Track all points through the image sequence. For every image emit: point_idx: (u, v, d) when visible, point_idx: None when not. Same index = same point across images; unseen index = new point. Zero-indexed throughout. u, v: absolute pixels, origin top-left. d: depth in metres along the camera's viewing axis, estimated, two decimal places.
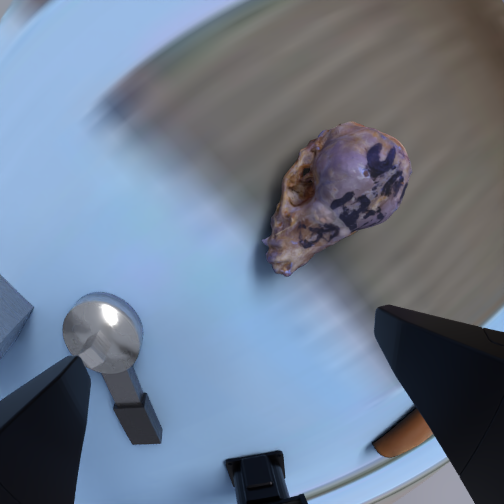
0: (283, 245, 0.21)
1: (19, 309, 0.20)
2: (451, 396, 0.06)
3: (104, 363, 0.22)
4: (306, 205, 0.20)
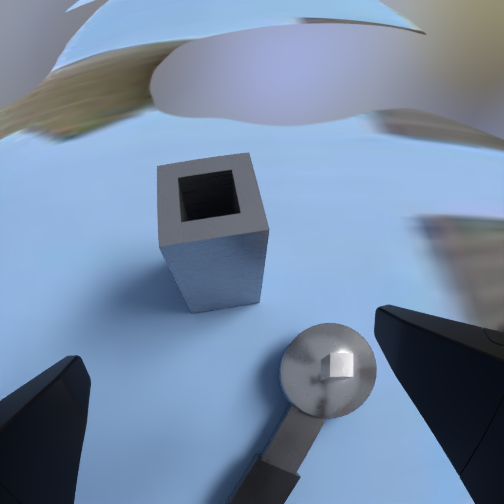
0: None
1: None
2: (451, 396, 0.06)
3: (312, 397, 0.18)
4: None
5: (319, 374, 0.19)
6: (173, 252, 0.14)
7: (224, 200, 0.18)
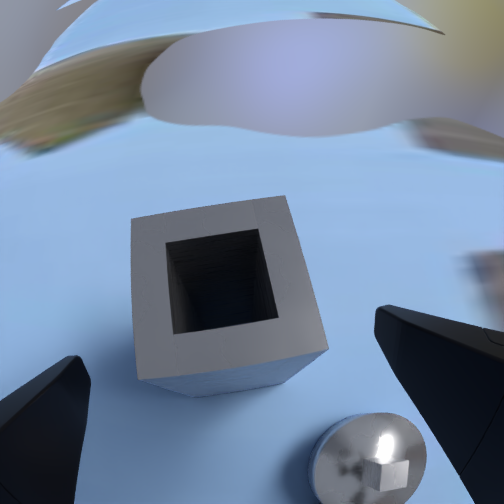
0: None
1: None
2: (451, 396, 0.06)
3: (350, 501, 0.12)
4: None
5: (361, 476, 0.12)
6: (163, 380, 0.08)
7: (242, 267, 0.12)
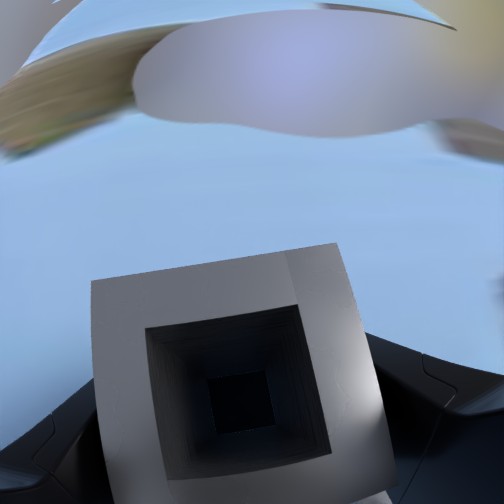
0: None
1: None
2: None
3: None
4: None
5: None
6: None
7: (262, 339, 0.08)
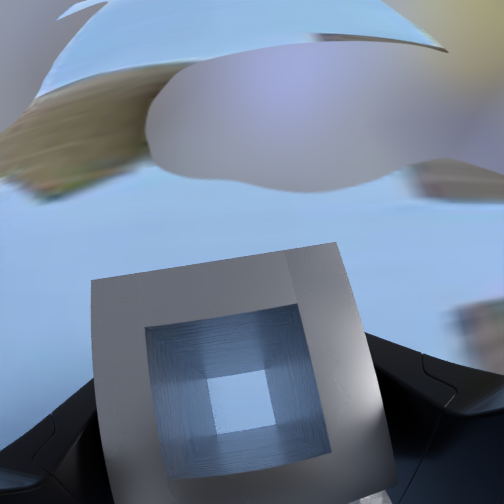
0: None
1: None
2: None
3: None
4: None
5: None
6: None
7: (262, 338, 0.08)
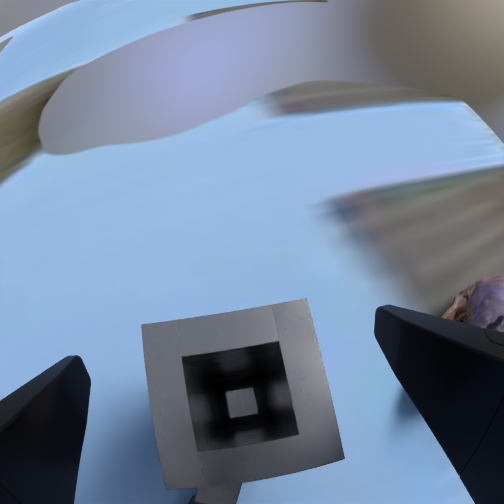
0: None
1: None
2: (451, 396, 0.06)
3: None
4: None
5: None
6: None
7: (258, 357, 0.11)
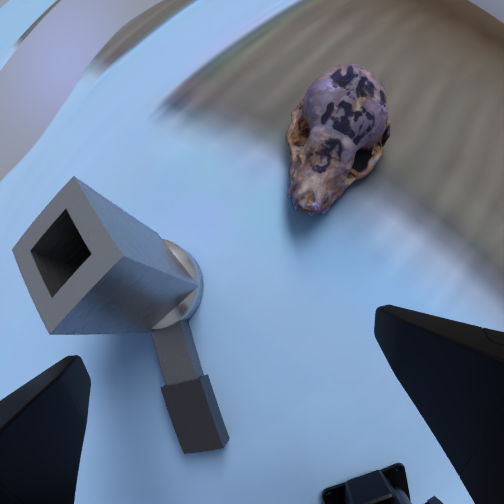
0: (300, 179, 0.21)
1: (184, 274, 0.20)
2: (451, 396, 0.06)
3: None
4: (307, 139, 0.21)
5: None
6: (66, 327, 0.12)
7: None
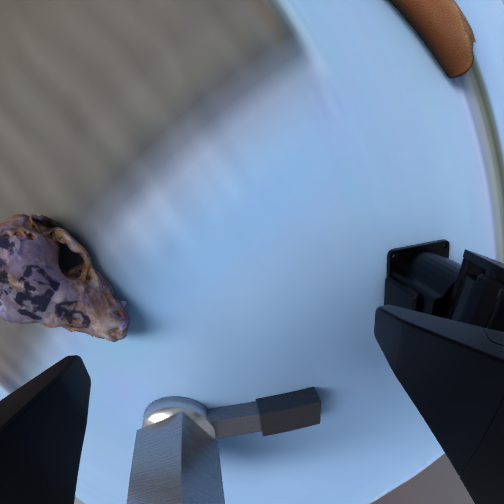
0: (96, 335, 0.19)
1: (174, 427, 0.21)
2: (451, 396, 0.06)
3: None
4: None
5: None
6: None
7: None
